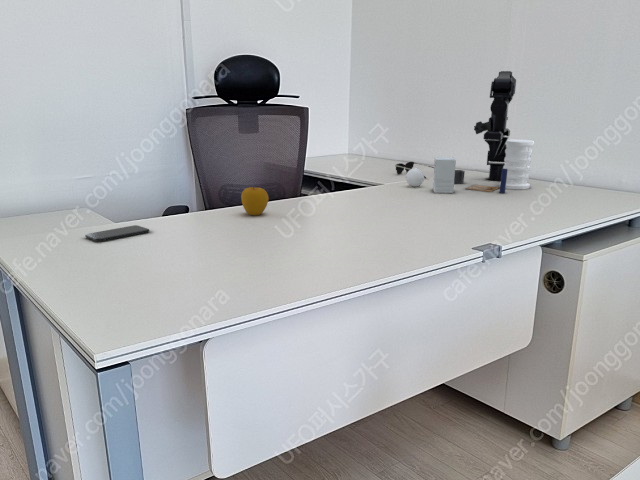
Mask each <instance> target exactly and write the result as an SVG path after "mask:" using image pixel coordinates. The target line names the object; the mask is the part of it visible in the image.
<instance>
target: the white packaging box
mask: <svg viewBox="0 0 640 480" xmlns="http://www.w3.org/2000/svg"><path fill="white" fill-rule="evenodd" d="M456 161H457V159H456V158H454V157H453V156H452V157H451V156H444V157H443V156H440V157H439V156H434V161H433V162H434V165H433V167H434V168H433V178H432V180H433V181H432V190H433V193H434V194H453V193H454V188H455V184H454V177H455V170H456V164H457V163H456Z"/></svg>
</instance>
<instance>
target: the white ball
mask: <svg viewBox="0 0 640 480" xmlns="http://www.w3.org/2000/svg"><path fill="white" fill-rule="evenodd" d="M424 176H425V174H424V171H423V170H421V169H420V168H419V167H418V168H417V167H413V168H412V169H410V170H409V171H408V173H407V172H406V175H405V181H406V183H407V184H408V185H409V186H411V187H419V186H421V185H422V184H423V183H424V181H425V178H424Z"/></svg>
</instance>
